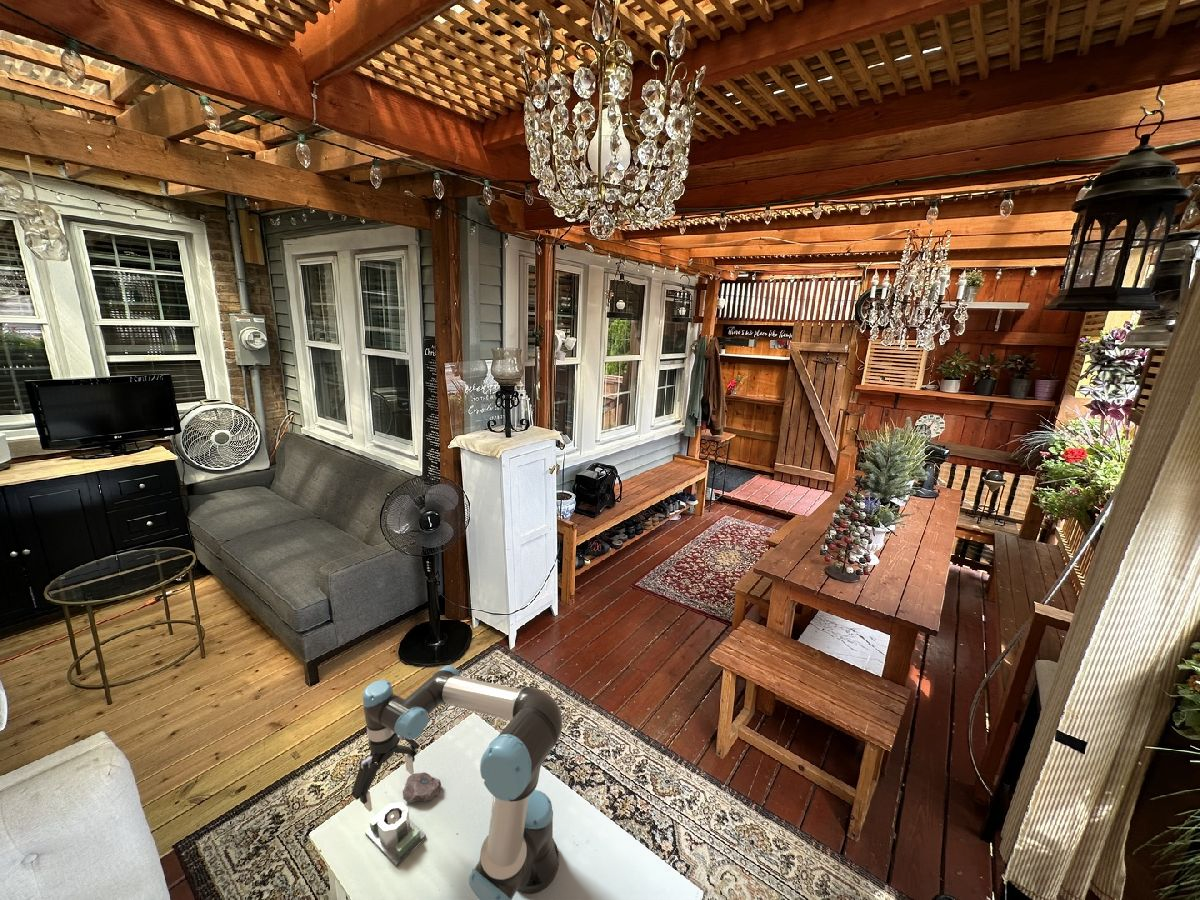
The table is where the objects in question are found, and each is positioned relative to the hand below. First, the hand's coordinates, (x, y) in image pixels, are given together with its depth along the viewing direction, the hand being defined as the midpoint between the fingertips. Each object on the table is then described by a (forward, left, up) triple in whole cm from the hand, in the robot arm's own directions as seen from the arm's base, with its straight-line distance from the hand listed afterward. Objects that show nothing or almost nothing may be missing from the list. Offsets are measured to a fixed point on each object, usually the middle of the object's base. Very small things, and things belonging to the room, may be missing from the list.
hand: (390, 789), depth 139 cm
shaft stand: (0, 0, -19) cm, 19 cm away
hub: (0, 0, -18) cm, 18 cm away
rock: (+5, -13, -19) cm, 24 cm away
